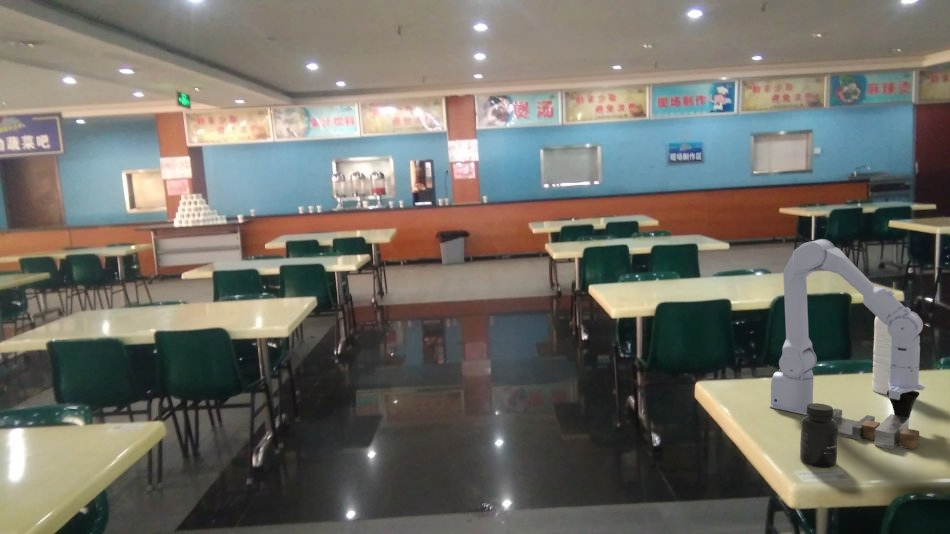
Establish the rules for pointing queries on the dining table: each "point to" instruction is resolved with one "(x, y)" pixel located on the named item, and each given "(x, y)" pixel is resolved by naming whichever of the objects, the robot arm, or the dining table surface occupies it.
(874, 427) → the wooden blocks
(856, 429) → the block
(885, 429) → the grey rectangular bar
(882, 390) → the water bottle
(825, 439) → the supplement bottle
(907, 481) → the dining table surface
